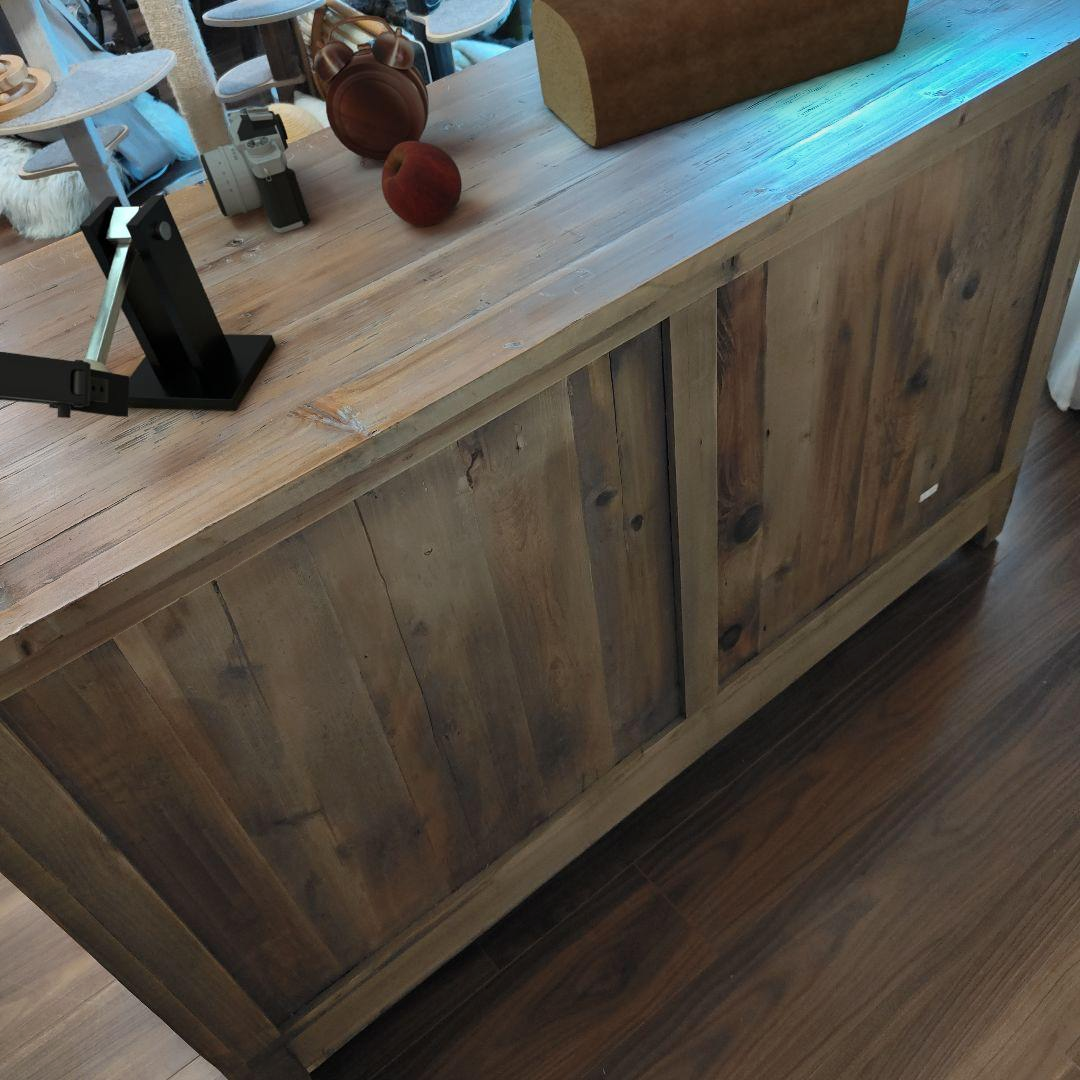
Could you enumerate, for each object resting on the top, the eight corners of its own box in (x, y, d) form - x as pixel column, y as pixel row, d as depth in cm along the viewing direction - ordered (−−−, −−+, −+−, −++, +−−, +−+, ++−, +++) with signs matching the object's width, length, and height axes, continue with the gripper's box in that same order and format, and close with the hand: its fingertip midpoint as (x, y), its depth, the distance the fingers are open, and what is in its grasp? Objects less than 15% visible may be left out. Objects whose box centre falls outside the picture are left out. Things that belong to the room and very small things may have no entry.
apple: (387, 212, 104) (367, 136, 98) (460, 193, 104) (444, 117, 98) (397, 246, 98) (377, 169, 93) (474, 227, 99) (459, 149, 93)
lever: (118, 417, 75) (88, 396, 71) (77, 415, 76) (45, 394, 72) (169, 229, 79) (143, 200, 76) (129, 229, 80) (101, 202, 77)
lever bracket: (236, 411, 84) (159, 241, 72) (120, 407, 86) (28, 242, 75) (276, 345, 89) (210, 178, 78) (167, 344, 92) (88, 182, 81)
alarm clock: (441, 143, 113) (410, 0, 102) (436, 163, 110) (404, 18, 99) (346, 154, 114) (307, 14, 103) (339, 175, 111) (297, 32, 100)
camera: (212, 190, 112) (176, 101, 105) (289, 165, 114) (259, 76, 107) (237, 251, 102) (200, 157, 95) (321, 224, 104) (291, 129, 96)
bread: (538, 106, 116) (521, -20, 106) (828, 13, 123) (837, -113, 113) (595, 157, 106) (581, 23, 96) (909, 53, 113) (926, -83, 103)
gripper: (-474, 417, 51) (-113, 442, 72) (-70, 434, 46) (197, 456, 66) (-474, 269, 51) (-111, 336, 72) (-67, 266, 45) (201, 340, 66)
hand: (37, 394), depth 69 cm, fingers open, 13 cm apart
